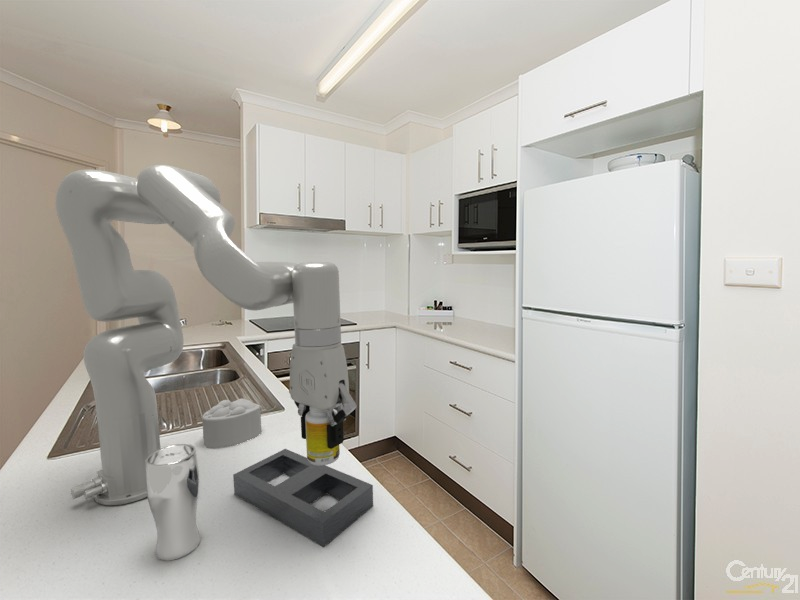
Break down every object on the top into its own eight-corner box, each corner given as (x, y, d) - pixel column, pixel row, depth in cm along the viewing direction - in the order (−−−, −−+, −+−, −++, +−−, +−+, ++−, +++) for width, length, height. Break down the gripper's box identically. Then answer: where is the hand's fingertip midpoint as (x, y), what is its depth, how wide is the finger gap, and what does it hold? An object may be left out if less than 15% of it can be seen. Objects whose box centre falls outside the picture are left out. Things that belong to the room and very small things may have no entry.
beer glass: (211, 529, 64) (205, 442, 62) (190, 562, 57) (182, 465, 55) (168, 531, 63) (161, 443, 62) (141, 564, 57) (132, 467, 55)
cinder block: (323, 547, 59) (322, 522, 59) (234, 494, 73) (233, 474, 73) (373, 506, 69) (372, 485, 69) (286, 466, 83) (285, 448, 82)
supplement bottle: (341, 464, 65) (339, 405, 64) (307, 469, 63) (304, 409, 62) (338, 448, 70) (336, 394, 69) (306, 453, 69) (304, 397, 68)
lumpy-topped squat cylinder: (266, 434, 99) (264, 401, 98) (214, 453, 89) (212, 417, 88) (245, 423, 106) (244, 392, 105) (196, 440, 96) (193, 406, 95)
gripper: (267, 335, 66) (272, 436, 68) (340, 347, 56) (344, 464, 58) (301, 328, 72) (305, 421, 74) (372, 338, 63) (375, 444, 64)
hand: (322, 439), depth 66 cm, fingers closed on supplement bottle, 5 cm apart
